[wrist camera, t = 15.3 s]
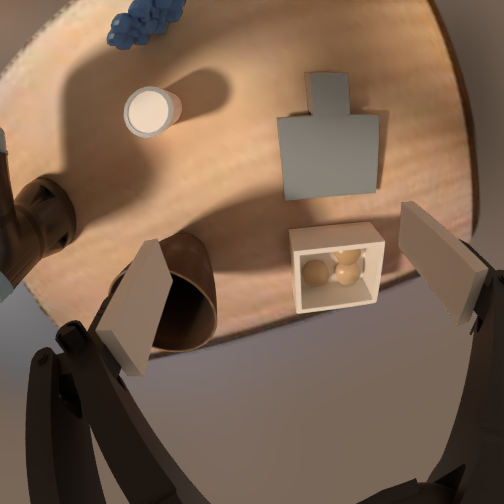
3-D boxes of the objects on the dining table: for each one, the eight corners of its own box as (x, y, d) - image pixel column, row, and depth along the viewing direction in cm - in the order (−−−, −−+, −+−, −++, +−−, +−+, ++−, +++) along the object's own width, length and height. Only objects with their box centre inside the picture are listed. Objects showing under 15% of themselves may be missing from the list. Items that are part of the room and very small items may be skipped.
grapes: (183, -9, 26) (159, -40, 16) (202, 21, 29) (183, -5, 19) (117, 32, 29) (75, 18, 18) (134, 61, 32) (93, 53, 21)
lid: (283, 192, 44) (286, 203, 41) (270, 74, 33) (272, 75, 30) (369, 184, 43) (378, 195, 40) (369, 73, 32) (380, 75, 29)
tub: (292, 287, 52) (296, 313, 46) (288, 229, 46) (293, 251, 40) (364, 278, 51) (376, 302, 45) (369, 221, 45) (385, 241, 39)
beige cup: (135, 102, 35) (114, 104, 29) (174, 79, 34) (159, 75, 28) (154, 139, 38) (137, 147, 32) (194, 118, 37) (182, 121, 31)
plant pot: (153, 285, 52) (126, 348, 38) (136, 214, 44) (93, 266, 31) (229, 286, 52) (222, 354, 38) (224, 210, 44) (210, 267, 30)
